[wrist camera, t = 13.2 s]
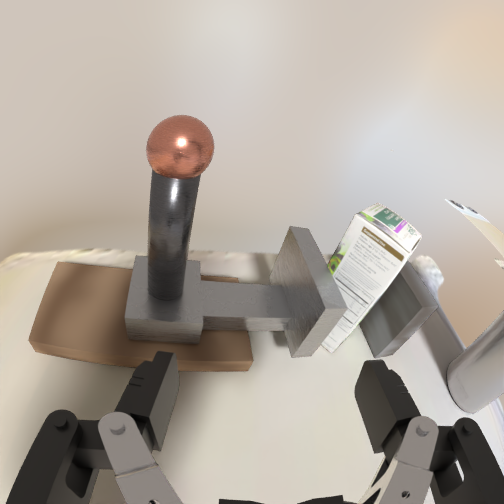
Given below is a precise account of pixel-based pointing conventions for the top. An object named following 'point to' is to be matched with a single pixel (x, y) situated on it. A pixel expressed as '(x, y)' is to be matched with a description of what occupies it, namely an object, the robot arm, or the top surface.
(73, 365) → the top surface
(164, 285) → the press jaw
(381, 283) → the syrup box
